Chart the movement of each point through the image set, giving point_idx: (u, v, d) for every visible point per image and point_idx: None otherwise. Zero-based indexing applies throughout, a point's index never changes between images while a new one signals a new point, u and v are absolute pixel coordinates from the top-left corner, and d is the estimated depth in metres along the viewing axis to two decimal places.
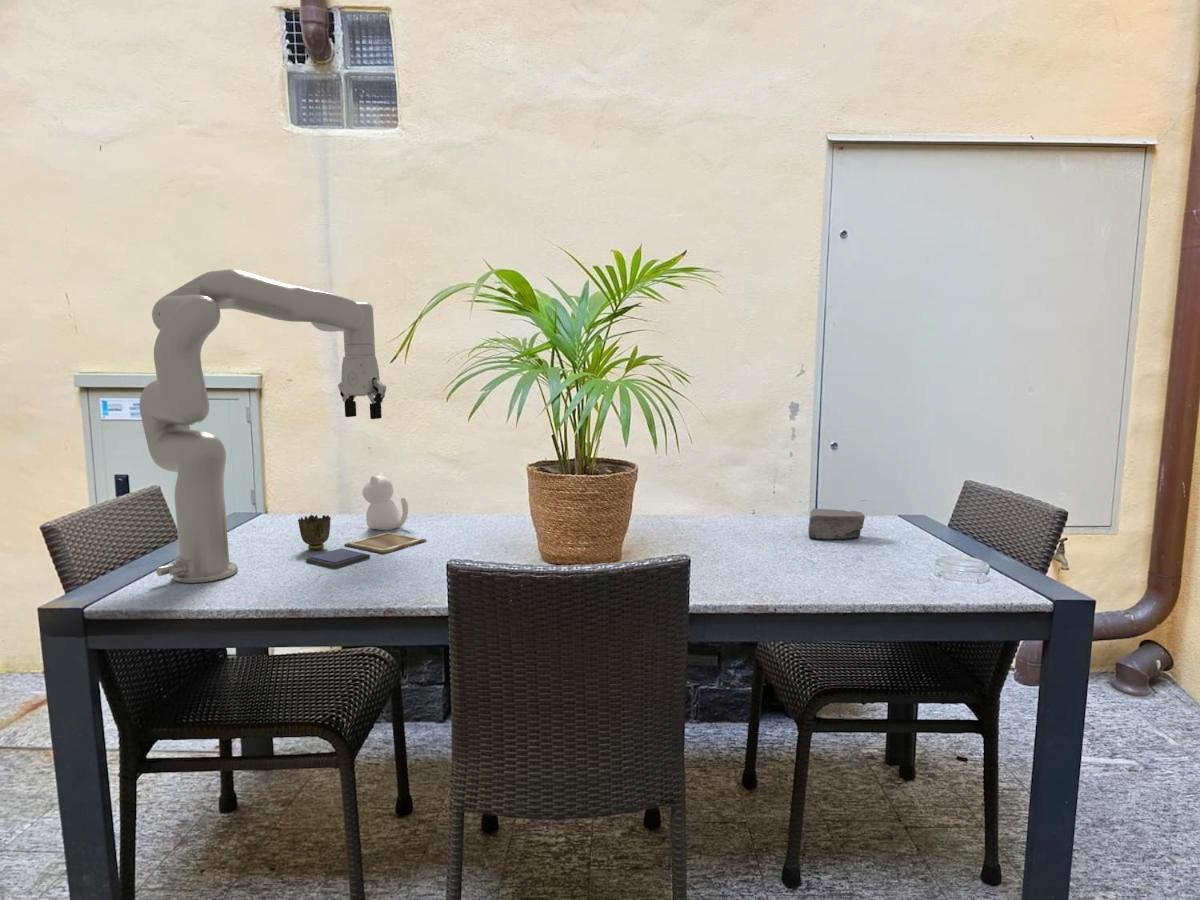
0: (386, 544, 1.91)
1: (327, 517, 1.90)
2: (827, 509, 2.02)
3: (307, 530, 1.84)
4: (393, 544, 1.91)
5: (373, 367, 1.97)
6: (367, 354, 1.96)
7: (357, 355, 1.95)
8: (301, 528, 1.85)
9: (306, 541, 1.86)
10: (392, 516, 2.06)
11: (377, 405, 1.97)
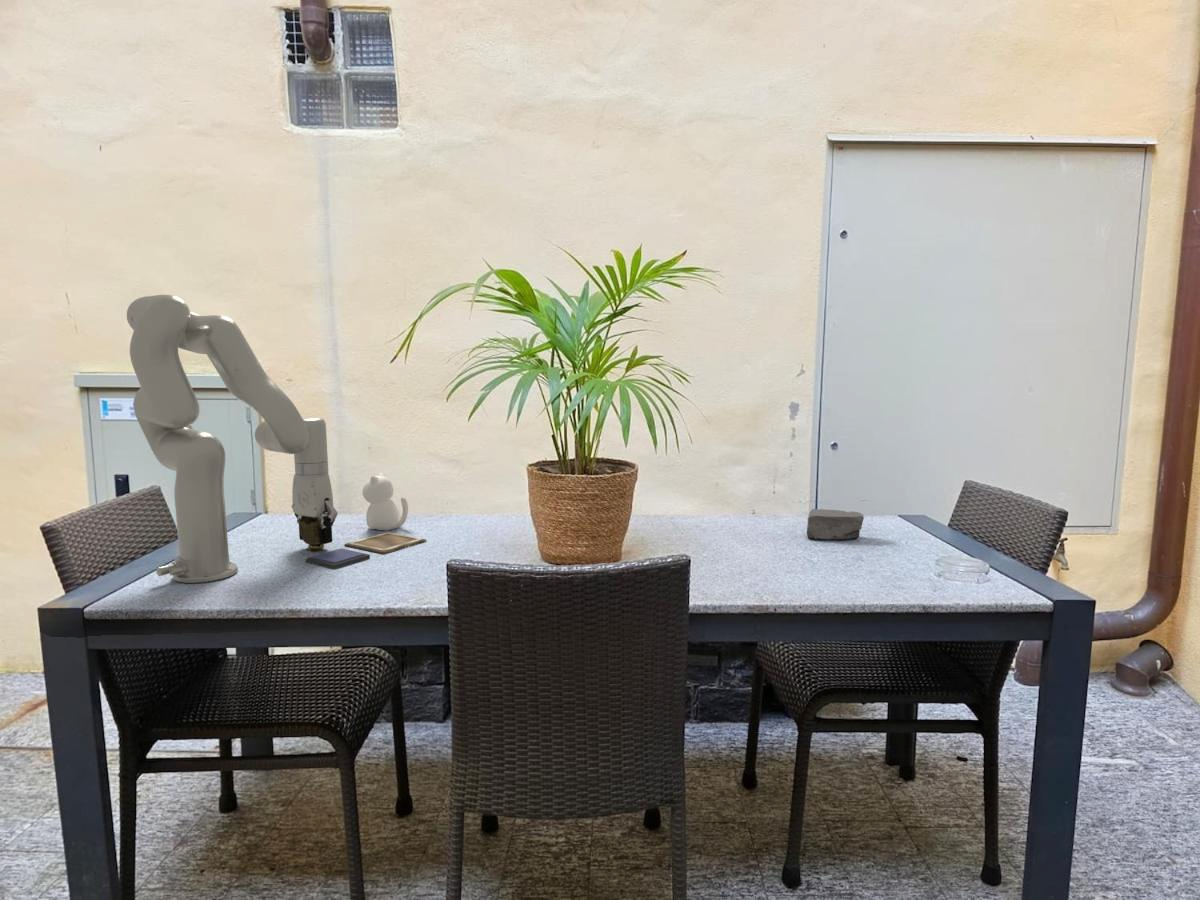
0: (386, 544, 1.91)
1: None
2: None
3: (307, 530, 1.84)
4: (393, 544, 1.91)
5: (325, 487, 1.84)
6: (319, 473, 1.83)
7: (308, 475, 1.82)
8: (301, 528, 1.85)
9: (306, 541, 1.86)
10: (392, 516, 2.06)
11: (327, 529, 1.85)
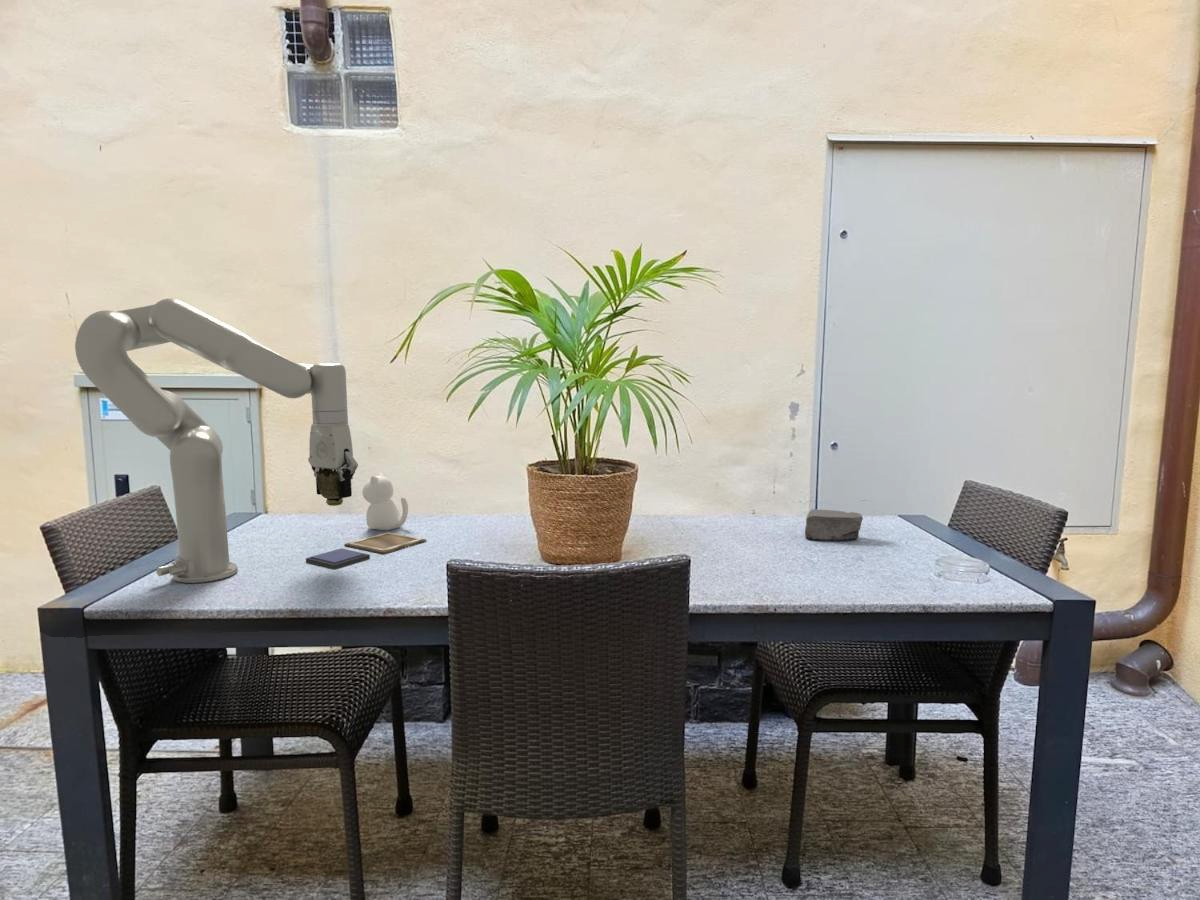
0: (386, 544, 1.91)
1: None
2: (826, 510, 2.01)
3: (326, 483, 1.74)
4: (393, 544, 1.91)
5: (345, 437, 1.73)
6: (338, 422, 1.72)
7: (326, 424, 1.71)
8: (319, 480, 1.74)
9: (324, 495, 1.75)
10: (392, 516, 2.06)
11: (346, 482, 1.74)
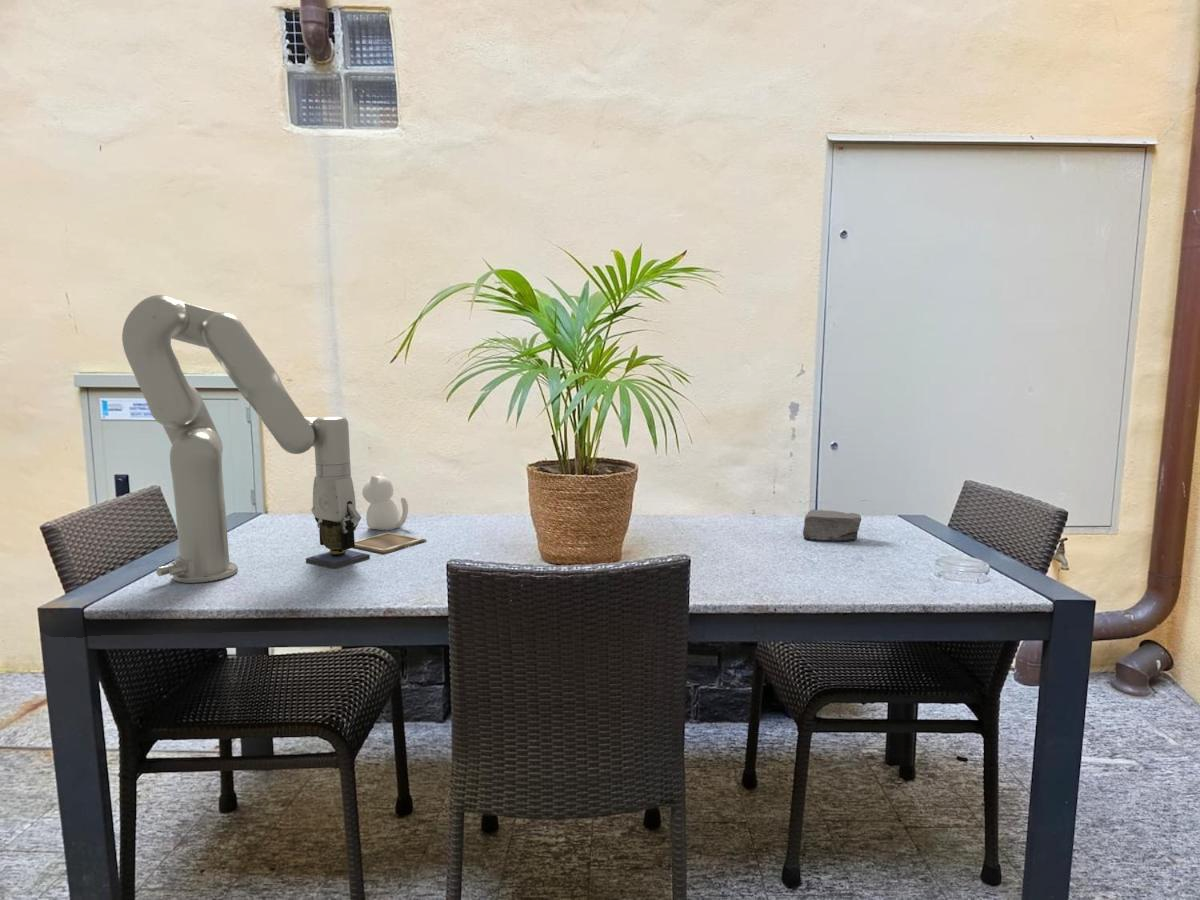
0: (386, 544, 1.91)
1: None
2: None
3: (329, 535, 1.75)
4: (393, 544, 1.91)
5: (348, 490, 1.75)
6: (341, 475, 1.74)
7: (330, 477, 1.73)
8: (323, 532, 1.76)
9: (328, 546, 1.77)
10: (392, 516, 2.06)
11: (349, 534, 1.76)
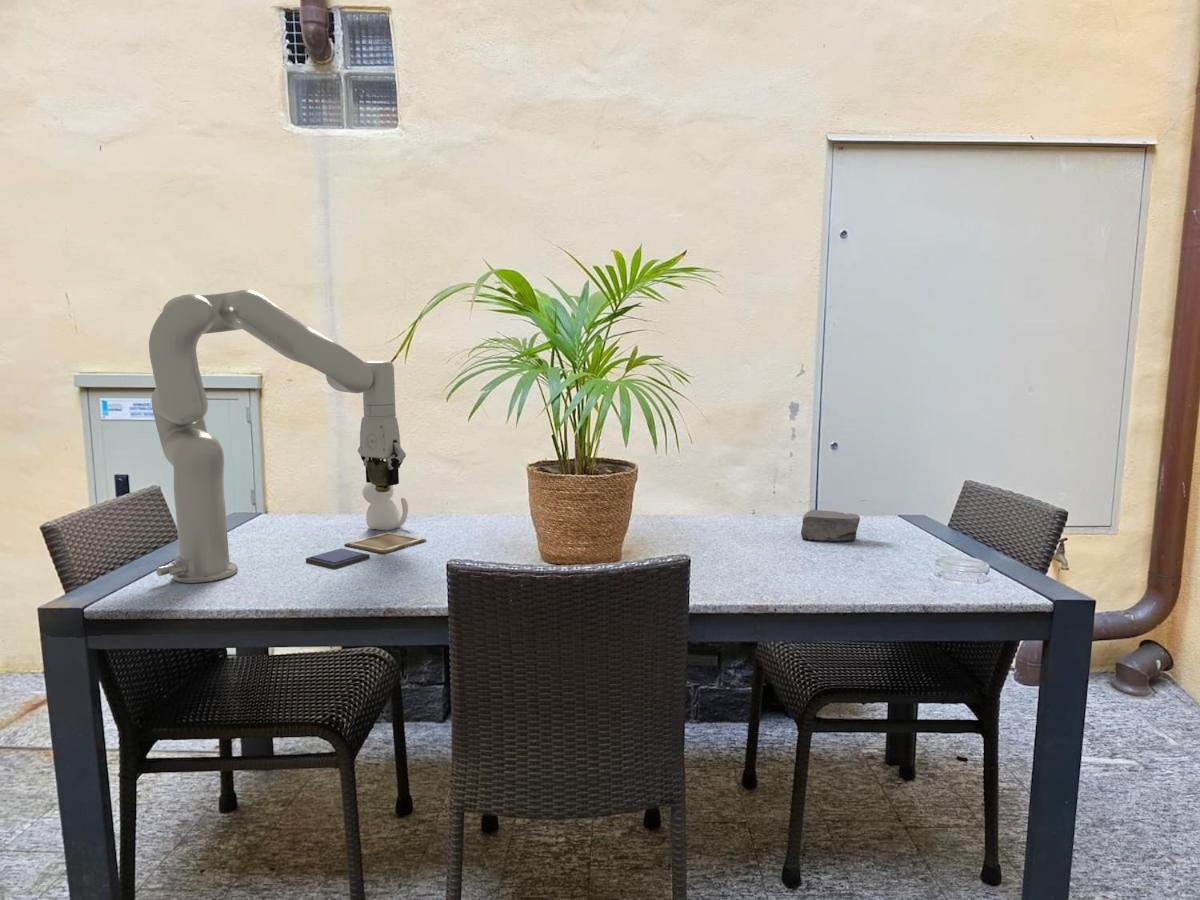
0: (386, 544, 1.91)
1: None
2: (825, 511, 2.00)
3: (376, 471, 1.88)
4: (393, 544, 1.91)
5: (394, 429, 1.87)
6: (387, 415, 1.87)
7: (377, 417, 1.86)
8: (370, 468, 1.88)
9: (374, 482, 1.89)
10: (392, 516, 2.06)
11: (394, 471, 1.88)
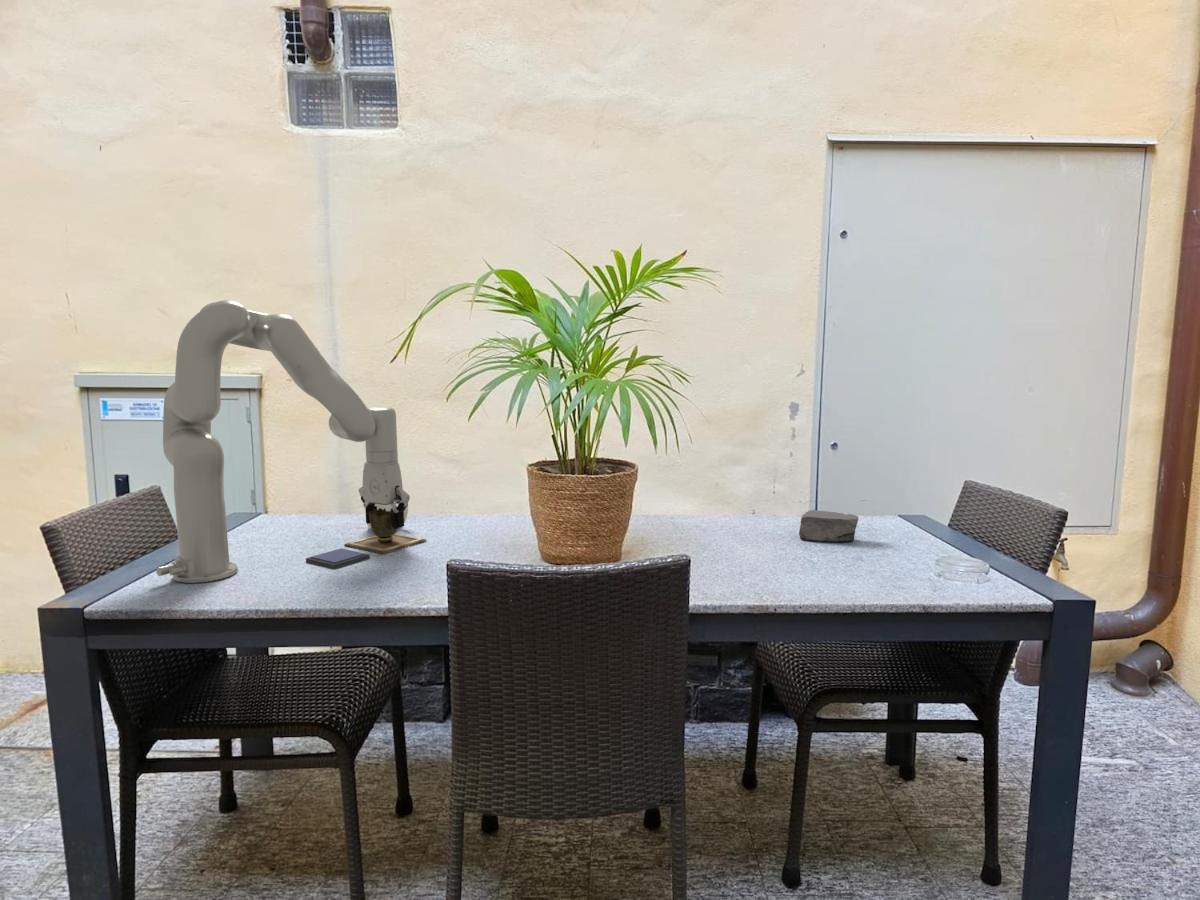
0: (386, 544, 1.91)
1: None
2: (824, 511, 1.99)
3: (378, 523, 1.89)
4: (393, 544, 1.91)
5: (396, 475, 1.89)
6: (390, 461, 1.88)
7: (379, 463, 1.87)
8: (372, 520, 1.90)
9: (377, 533, 1.91)
10: None
11: (400, 514, 1.89)
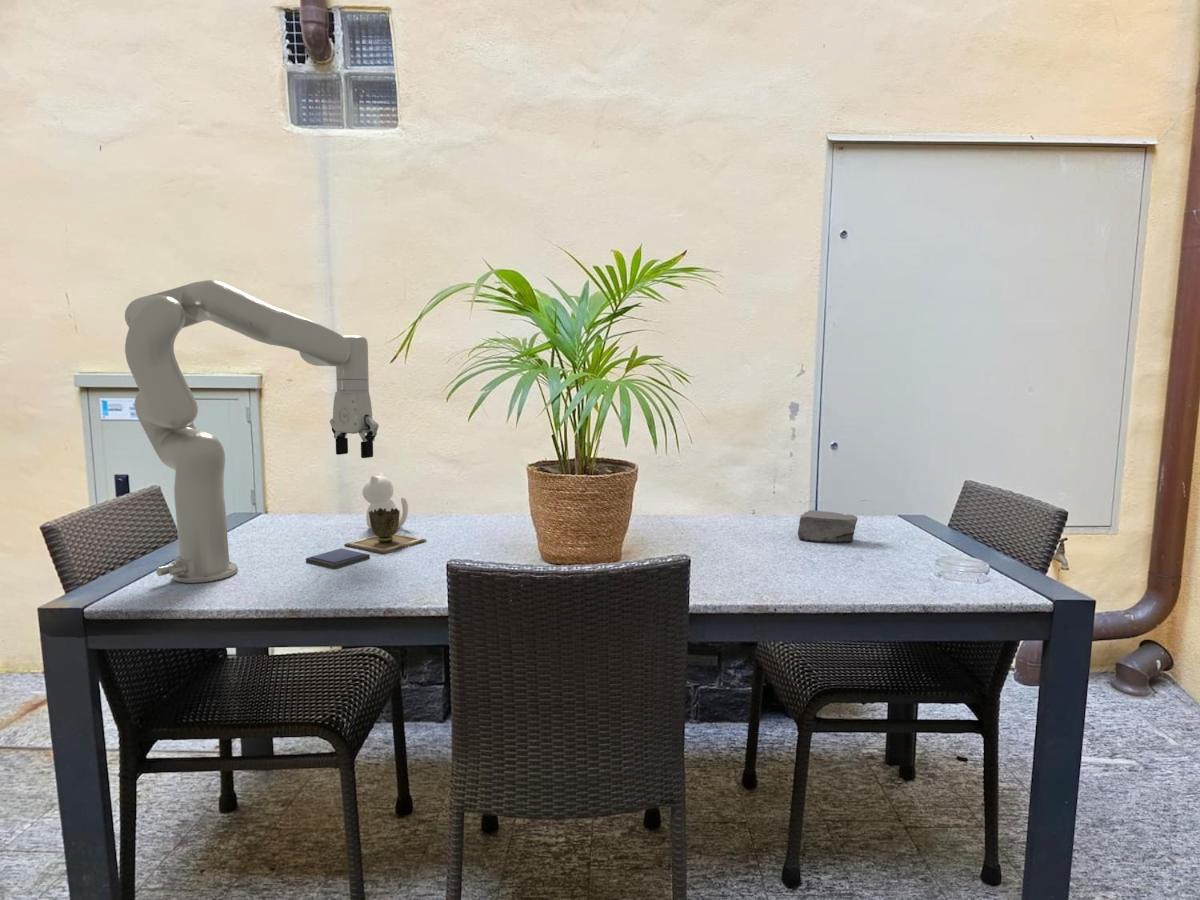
0: (386, 544, 1.91)
1: (396, 510, 1.95)
2: None
3: (378, 523, 1.89)
4: (393, 544, 1.91)
5: (365, 404, 1.87)
6: (360, 390, 1.87)
7: (349, 391, 1.86)
8: (372, 520, 1.90)
9: (377, 533, 1.91)
10: None
11: (368, 443, 1.88)
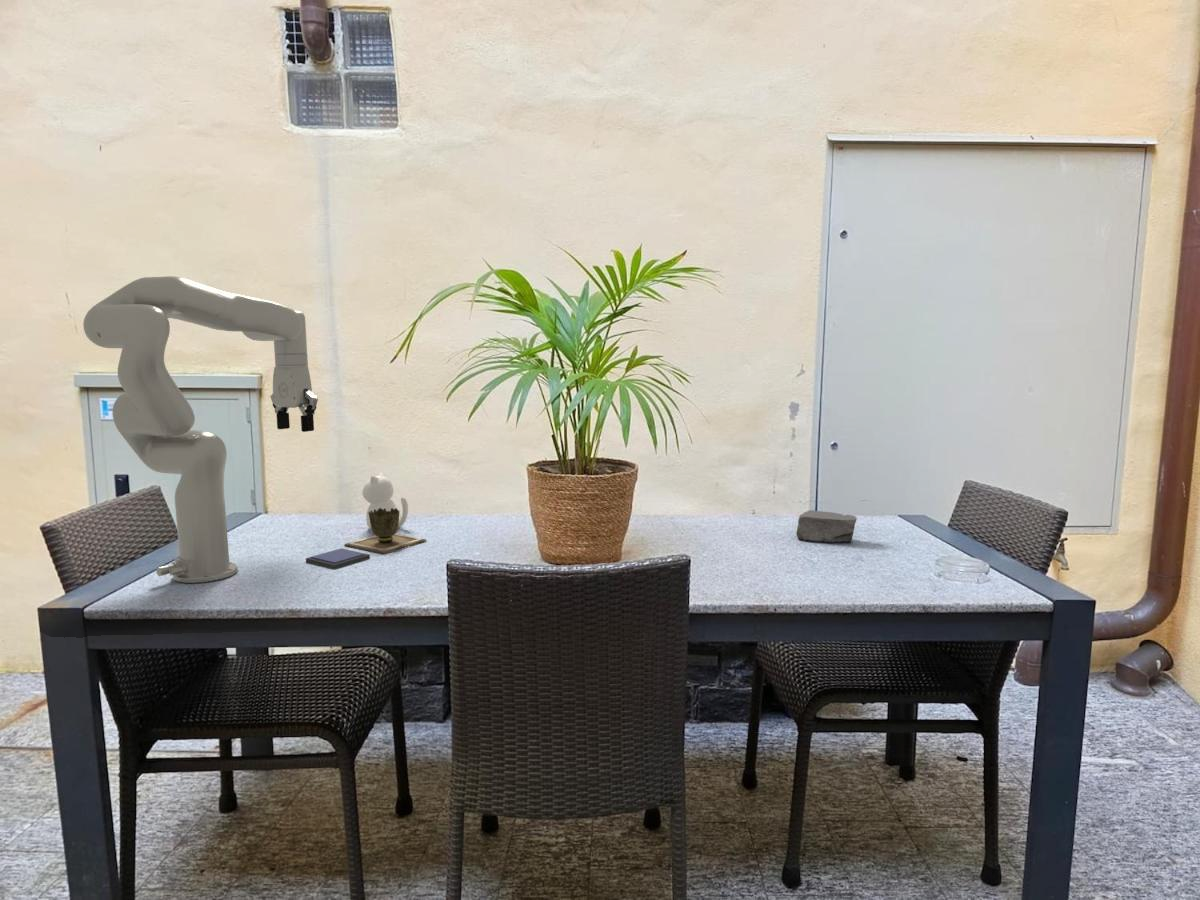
0: (386, 544, 1.91)
1: (395, 510, 1.95)
2: None
3: (378, 523, 1.89)
4: (393, 544, 1.91)
5: (304, 378, 1.89)
6: (298, 364, 1.89)
7: (287, 365, 1.88)
8: (372, 520, 1.90)
9: (377, 533, 1.91)
10: None
11: (309, 417, 1.90)
